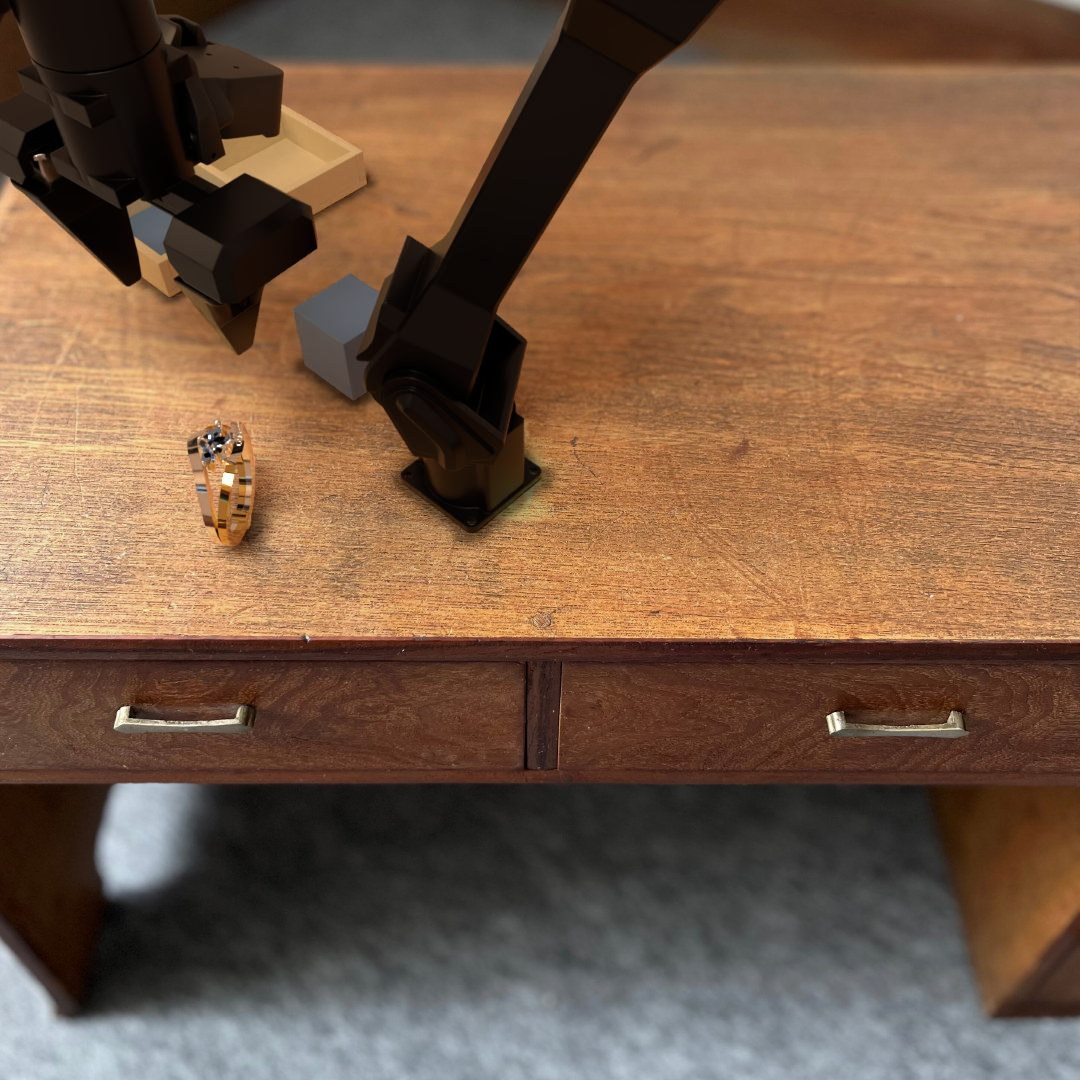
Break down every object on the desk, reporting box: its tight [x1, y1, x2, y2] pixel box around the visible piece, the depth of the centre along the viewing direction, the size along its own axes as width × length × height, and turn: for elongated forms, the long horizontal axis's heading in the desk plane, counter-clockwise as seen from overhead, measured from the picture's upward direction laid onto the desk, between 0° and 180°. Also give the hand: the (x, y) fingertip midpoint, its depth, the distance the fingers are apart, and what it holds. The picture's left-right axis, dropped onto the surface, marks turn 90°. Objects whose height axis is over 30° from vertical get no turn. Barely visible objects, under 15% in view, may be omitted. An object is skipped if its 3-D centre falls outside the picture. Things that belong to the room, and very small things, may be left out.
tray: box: [127, 103, 368, 298], centre depth 82 cm, size 19×10×3 cm, turn 138°
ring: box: [186, 417, 256, 547], centre depth 61 cm, size 7×3×8 cm, turn 174°
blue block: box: [292, 273, 380, 401], centre depth 71 cm, size 5×5×5 cm
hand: (186, 315), depth 59 cm, fingers open, 9 cm apart
